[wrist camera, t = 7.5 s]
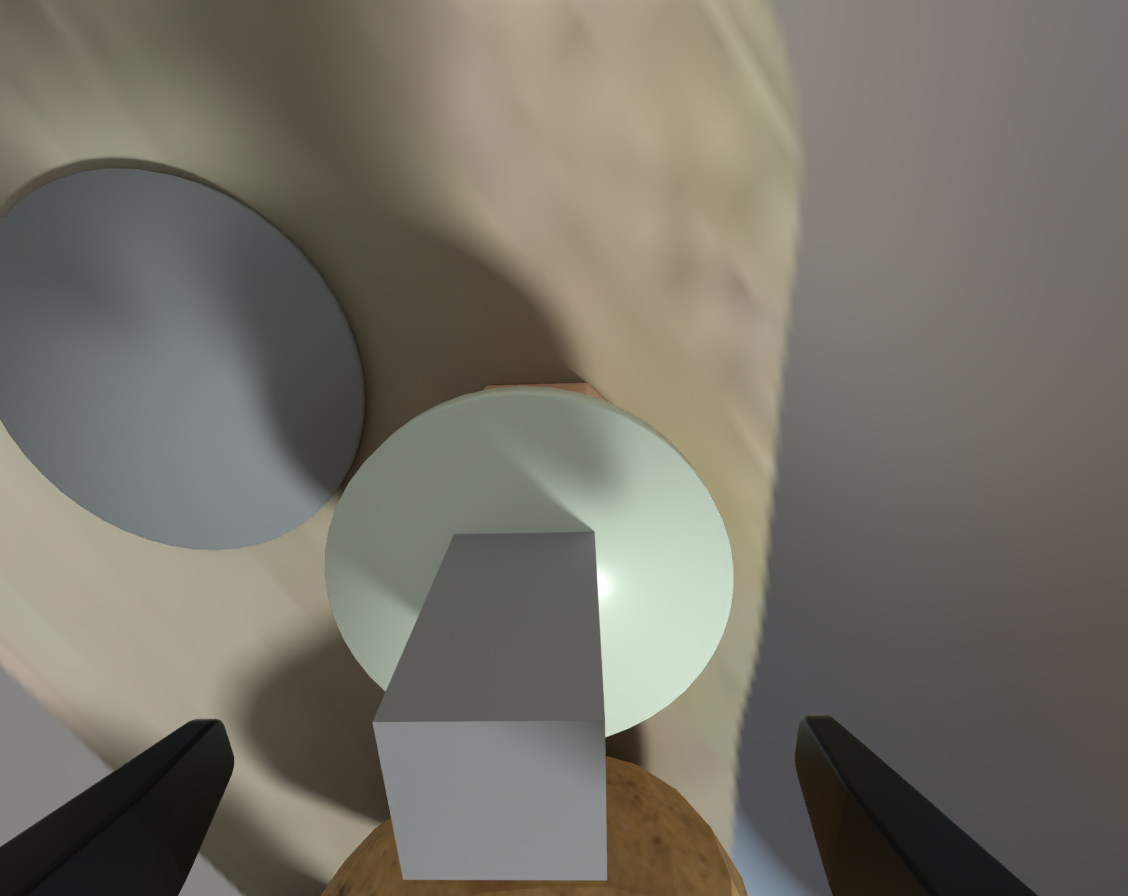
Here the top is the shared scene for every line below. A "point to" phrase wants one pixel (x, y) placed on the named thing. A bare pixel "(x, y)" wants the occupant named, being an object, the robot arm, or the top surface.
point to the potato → (634, 853)
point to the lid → (521, 619)
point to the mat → (173, 359)
